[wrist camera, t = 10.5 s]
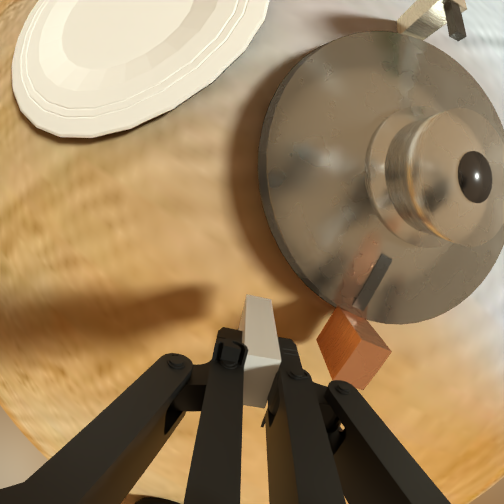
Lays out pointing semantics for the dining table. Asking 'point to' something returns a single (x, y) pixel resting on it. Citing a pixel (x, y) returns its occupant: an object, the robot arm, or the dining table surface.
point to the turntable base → (410, 23)
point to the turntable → (365, 192)
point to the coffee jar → (155, 501)
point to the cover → (437, 176)
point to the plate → (124, 59)
